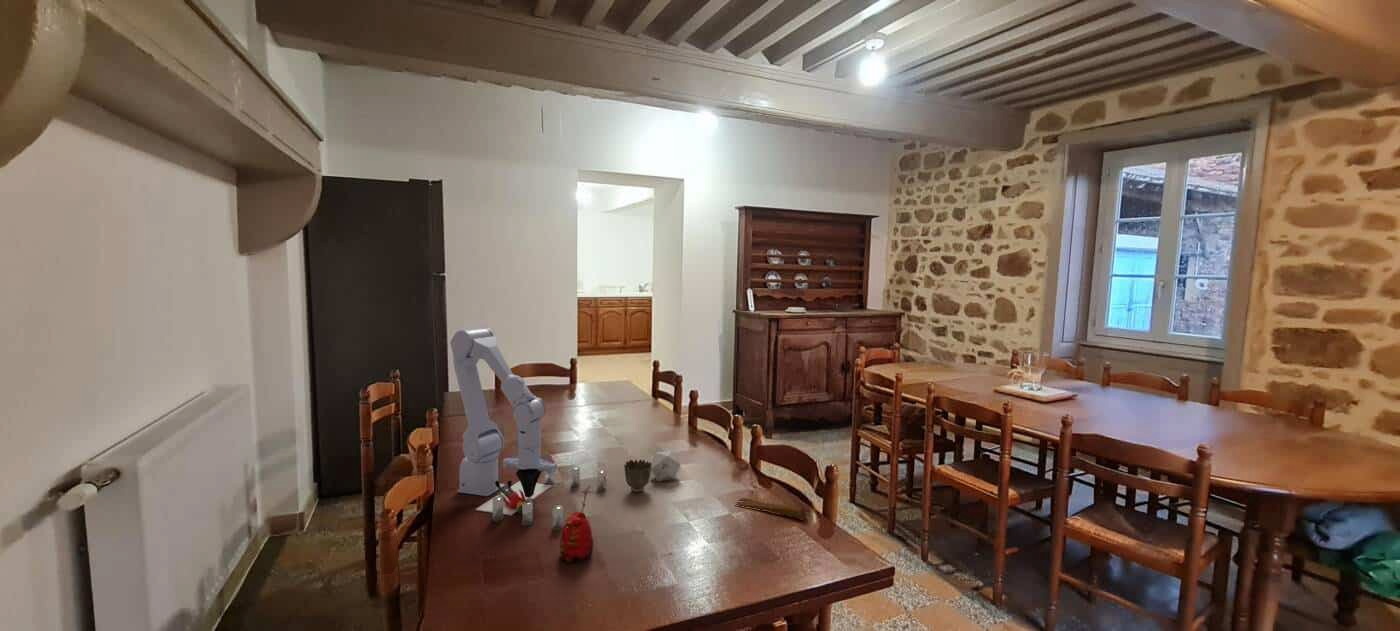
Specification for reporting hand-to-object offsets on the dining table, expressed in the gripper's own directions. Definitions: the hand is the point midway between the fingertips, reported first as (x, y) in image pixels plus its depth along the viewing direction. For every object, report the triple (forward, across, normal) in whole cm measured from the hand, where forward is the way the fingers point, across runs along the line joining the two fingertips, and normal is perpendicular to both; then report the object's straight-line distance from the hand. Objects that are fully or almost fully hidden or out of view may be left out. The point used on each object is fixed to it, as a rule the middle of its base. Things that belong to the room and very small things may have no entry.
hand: (529, 495), depth 151 cm
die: (+1, +29, +26) cm, 39 cm away
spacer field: (+1, +6, 0) cm, 6 cm away
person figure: (+1, -3, -3) cm, 4 cm away
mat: (+1, -4, 0) cm, 4 cm away
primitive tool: (+2, +61, +13) cm, 63 cm away
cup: (+1, +25, +14) cm, 29 cm away
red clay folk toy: (+1, +25, -23) cm, 34 cm away
